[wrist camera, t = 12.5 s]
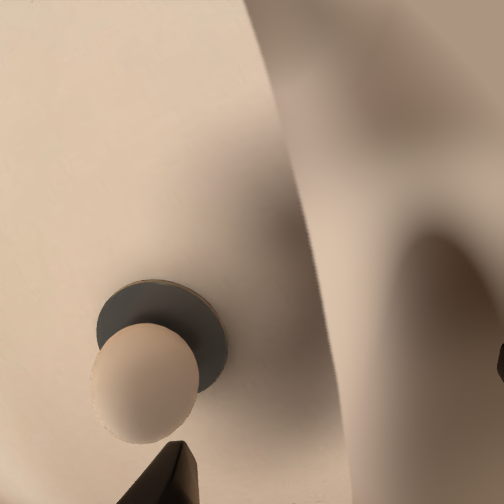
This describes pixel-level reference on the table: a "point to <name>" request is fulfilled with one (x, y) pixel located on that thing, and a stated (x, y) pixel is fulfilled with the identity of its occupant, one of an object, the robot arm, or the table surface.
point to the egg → (144, 383)
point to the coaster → (169, 321)
